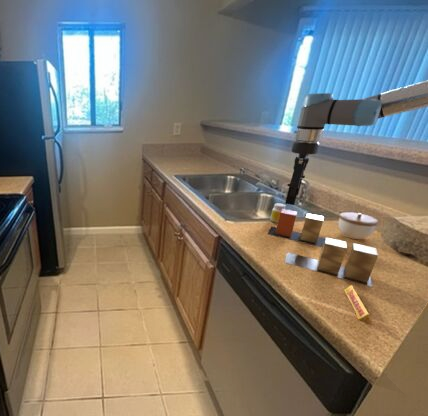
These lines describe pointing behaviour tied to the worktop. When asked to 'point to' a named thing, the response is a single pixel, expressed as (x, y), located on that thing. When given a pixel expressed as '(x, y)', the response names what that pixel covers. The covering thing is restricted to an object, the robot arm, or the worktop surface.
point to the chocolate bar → (357, 305)
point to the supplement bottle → (276, 213)
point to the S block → (286, 222)
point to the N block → (360, 262)
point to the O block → (311, 228)
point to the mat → (296, 237)
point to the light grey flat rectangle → (313, 264)
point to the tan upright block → (332, 255)
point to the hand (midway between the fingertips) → (291, 199)
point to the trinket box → (356, 225)
